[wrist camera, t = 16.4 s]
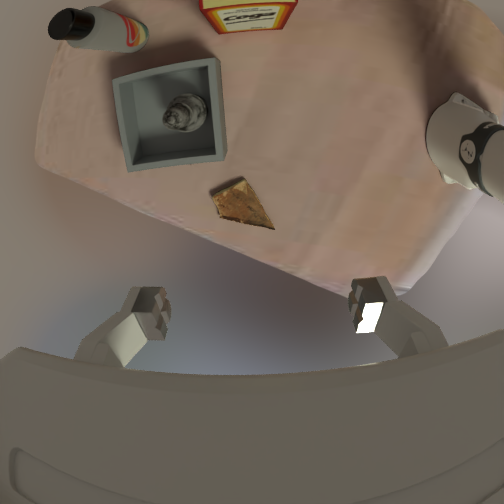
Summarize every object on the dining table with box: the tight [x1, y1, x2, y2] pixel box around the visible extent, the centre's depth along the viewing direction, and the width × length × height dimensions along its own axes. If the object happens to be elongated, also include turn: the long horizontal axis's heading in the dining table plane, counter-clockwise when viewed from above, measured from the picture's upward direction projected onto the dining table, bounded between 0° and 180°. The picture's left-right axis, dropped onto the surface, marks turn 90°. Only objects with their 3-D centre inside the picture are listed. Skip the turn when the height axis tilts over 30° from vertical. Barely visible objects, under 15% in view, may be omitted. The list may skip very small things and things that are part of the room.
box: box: [112, 58, 228, 172], centre depth 35 cm, size 15×15×6 cm
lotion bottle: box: [48, 6, 149, 53], centre depth 21 cm, size 6×6×20 cm
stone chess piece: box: [162, 93, 208, 132], centre depth 32 cm, size 6×6×12 cm
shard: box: [212, 179, 275, 230], centre depth 48 cm, size 11×8×2 cm
